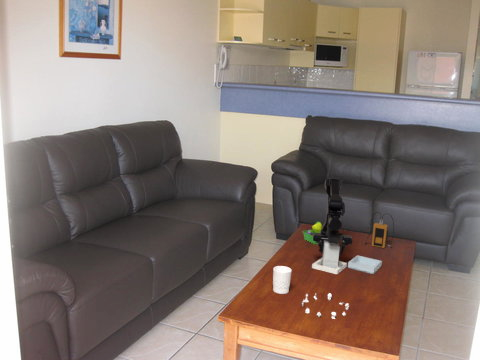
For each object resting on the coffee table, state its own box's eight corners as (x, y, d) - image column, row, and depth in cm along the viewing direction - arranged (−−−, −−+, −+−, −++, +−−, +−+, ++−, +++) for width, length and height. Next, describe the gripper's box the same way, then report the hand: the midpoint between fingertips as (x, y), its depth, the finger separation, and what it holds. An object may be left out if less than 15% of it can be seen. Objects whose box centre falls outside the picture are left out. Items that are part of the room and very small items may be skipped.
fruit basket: (301, 239, 303) (302, 220, 301) (313, 237, 308) (315, 219, 305) (313, 245, 294) (315, 225, 291) (325, 243, 298) (327, 224, 296)
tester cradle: (311, 268, 259) (312, 263, 258) (322, 260, 270) (322, 255, 269) (337, 274, 253) (337, 269, 252) (346, 266, 263) (347, 261, 263)
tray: (347, 267, 262) (348, 262, 261) (356, 260, 273) (357, 255, 272) (373, 274, 256) (374, 268, 255) (381, 266, 267) (382, 260, 266)
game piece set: (315, 294, 229) (316, 286, 228) (357, 309, 217) (358, 300, 216) (290, 308, 214) (291, 299, 213) (334, 325, 202) (335, 315, 201)
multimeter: (393, 244, 303) (398, 211, 299) (391, 249, 294) (395, 215, 290) (368, 240, 309) (371, 207, 305) (364, 244, 300) (368, 210, 296)
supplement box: (336, 265, 265) (338, 241, 262) (337, 270, 257) (340, 246, 255) (321, 264, 265) (323, 240, 263) (322, 269, 258) (324, 244, 255)
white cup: (291, 289, 232) (293, 267, 230) (287, 296, 225) (289, 273, 223) (274, 286, 235) (276, 264, 233) (269, 292, 227) (271, 270, 225)
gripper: (315, 227, 250) (312, 258, 253) (354, 230, 248) (351, 262, 251) (314, 221, 261) (311, 251, 264) (352, 224, 259) (349, 254, 262)
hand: (330, 254), depth 260 cm, fingers open, 9 cm apart
